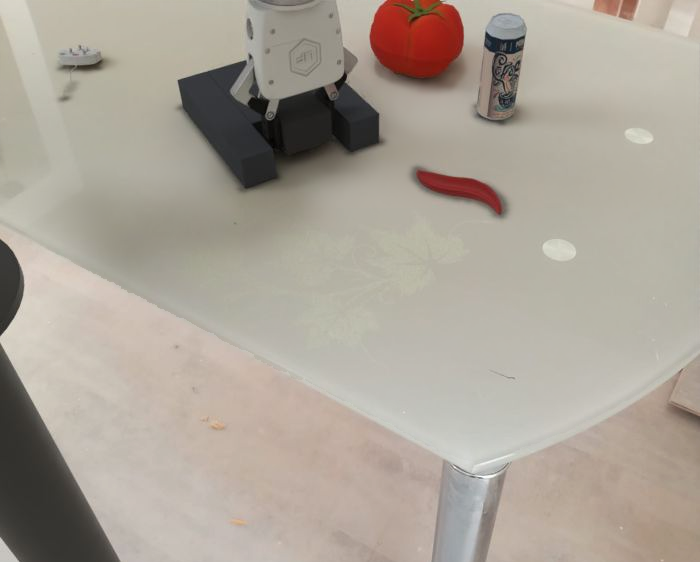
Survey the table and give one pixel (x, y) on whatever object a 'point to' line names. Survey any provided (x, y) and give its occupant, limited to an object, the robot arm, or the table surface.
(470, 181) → the cayenne pepper
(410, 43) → the tomato
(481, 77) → the beer can
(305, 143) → the black puzzle block
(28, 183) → the table surface
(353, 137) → the grey pad
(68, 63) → the game controller
